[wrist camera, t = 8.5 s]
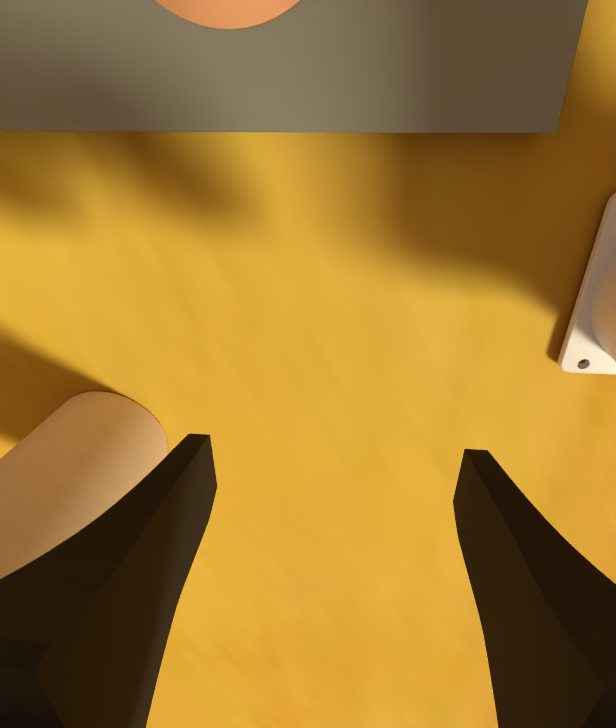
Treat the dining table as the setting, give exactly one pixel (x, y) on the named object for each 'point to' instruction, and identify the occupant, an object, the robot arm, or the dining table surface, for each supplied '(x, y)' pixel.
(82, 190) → the dining table surface
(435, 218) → the dining table surface
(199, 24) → the post board
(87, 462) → the coffee cup
